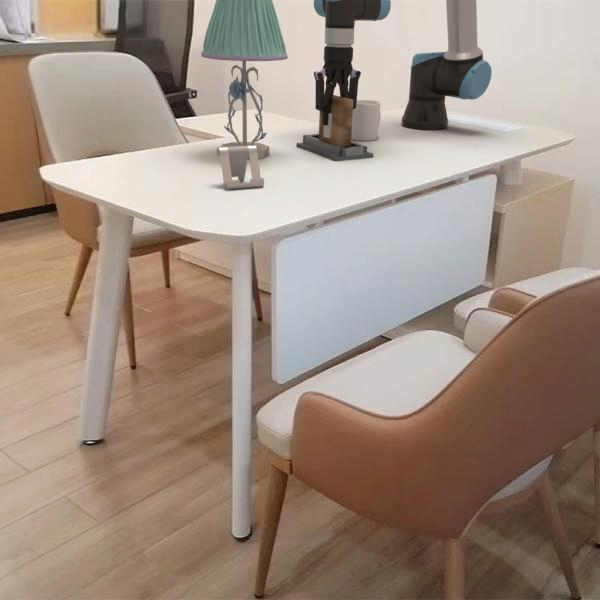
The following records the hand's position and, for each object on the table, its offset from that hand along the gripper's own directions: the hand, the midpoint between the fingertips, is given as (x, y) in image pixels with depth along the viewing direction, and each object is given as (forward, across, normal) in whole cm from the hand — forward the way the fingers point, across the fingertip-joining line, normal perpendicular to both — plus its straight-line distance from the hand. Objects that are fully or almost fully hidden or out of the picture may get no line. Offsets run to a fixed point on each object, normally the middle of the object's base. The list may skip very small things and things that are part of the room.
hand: (334, 136), depth 199 cm
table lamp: (+4, +24, -6) cm, 25 cm away
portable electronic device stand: (+4, +39, +22) cm, 45 cm away
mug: (+4, -20, -13) cm, 24 cm away
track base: (+4, 0, 0) cm, 4 cm away
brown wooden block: (+2, 0, 0) cm, 2 cm away
